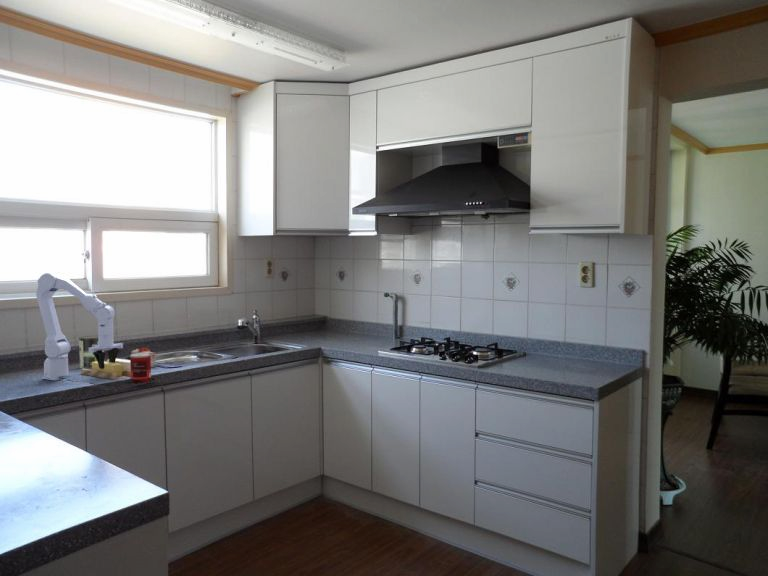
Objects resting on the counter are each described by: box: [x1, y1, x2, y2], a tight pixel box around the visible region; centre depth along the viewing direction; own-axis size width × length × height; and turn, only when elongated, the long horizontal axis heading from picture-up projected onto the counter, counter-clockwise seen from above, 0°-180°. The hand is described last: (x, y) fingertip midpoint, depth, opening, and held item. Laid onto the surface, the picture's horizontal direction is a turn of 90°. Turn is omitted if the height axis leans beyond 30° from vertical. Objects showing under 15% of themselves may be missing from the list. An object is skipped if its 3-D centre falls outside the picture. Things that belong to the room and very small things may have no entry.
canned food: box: [129, 353, 152, 384], centre depth 244 cm, size 8×8×11 cm
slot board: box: [80, 368, 131, 380], centre depth 253 cm, size 22×16×4 cm
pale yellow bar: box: [91, 360, 122, 377], centre depth 250 cm, size 14×4×5 cm, turn 60°
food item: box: [130, 346, 157, 368], centre depth 271 cm, size 14×8×10 cm, turn 46°
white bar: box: [106, 357, 131, 371], centre depth 256 cm, size 14×4×5 cm, turn 60°
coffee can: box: [78, 335, 105, 369], centre depth 275 cm, size 10×10×14 cm
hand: (106, 367), depth 250 cm, fingers open, 4 cm apart
